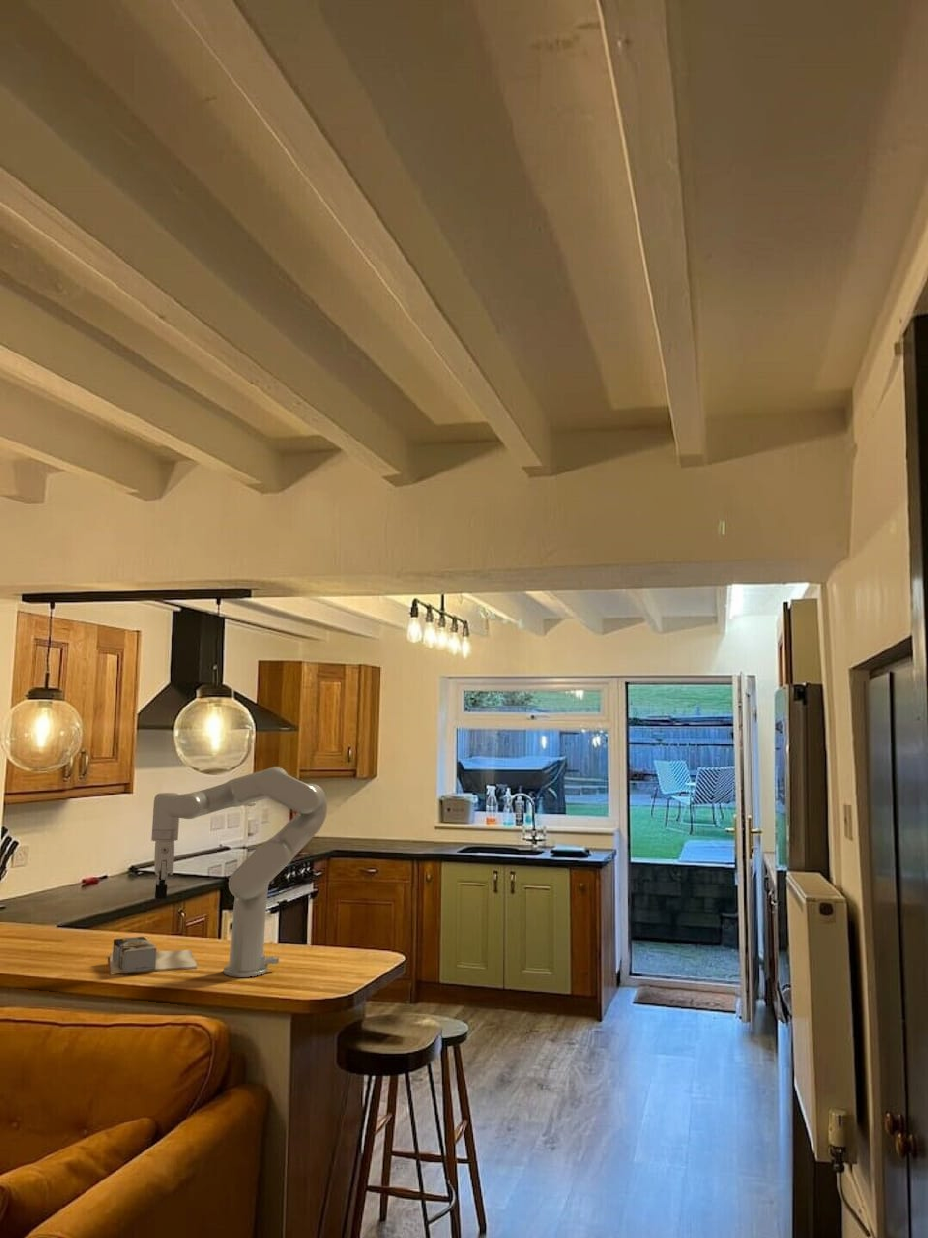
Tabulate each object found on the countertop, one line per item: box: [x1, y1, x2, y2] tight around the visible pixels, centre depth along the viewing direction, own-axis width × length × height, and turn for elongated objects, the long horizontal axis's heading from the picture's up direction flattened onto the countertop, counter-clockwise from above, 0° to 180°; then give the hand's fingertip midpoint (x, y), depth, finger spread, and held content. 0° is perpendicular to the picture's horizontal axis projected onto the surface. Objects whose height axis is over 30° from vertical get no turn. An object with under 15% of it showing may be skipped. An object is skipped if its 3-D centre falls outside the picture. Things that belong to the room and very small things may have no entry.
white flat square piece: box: [109, 949, 198, 974], centre depth 265 cm, size 24×22×1 cm
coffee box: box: [112, 936, 157, 974], centre depth 259 cm, size 9×6×16 cm
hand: (160, 898), depth 259 cm, fingers closed
